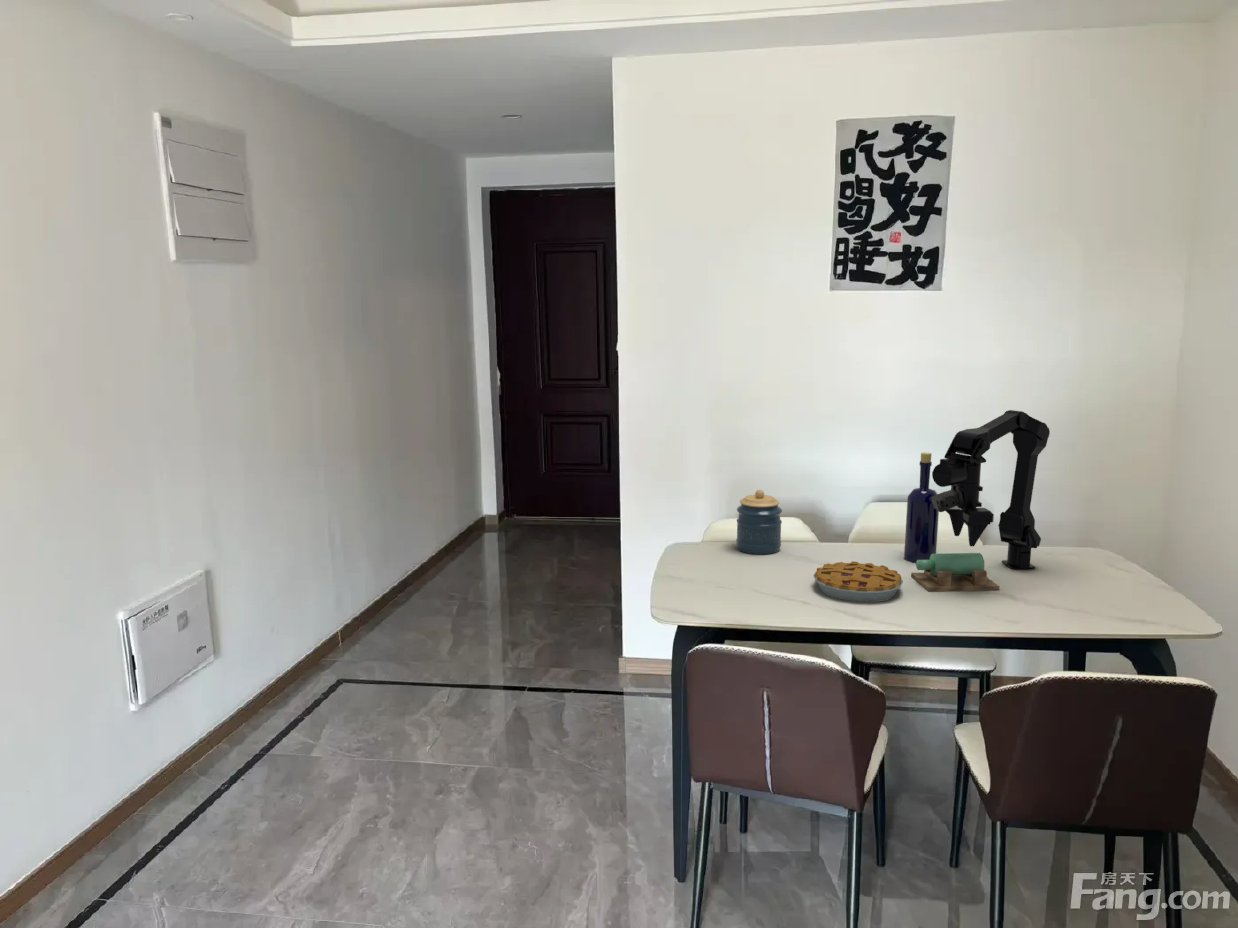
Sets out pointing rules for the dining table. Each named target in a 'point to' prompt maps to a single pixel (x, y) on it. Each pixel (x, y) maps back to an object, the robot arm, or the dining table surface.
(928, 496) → the bottle
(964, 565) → the small bottle
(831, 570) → the pie
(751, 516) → the canister
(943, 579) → the bottle rest
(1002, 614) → the dining table surface
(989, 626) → the dining table surface
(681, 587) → the dining table surface
